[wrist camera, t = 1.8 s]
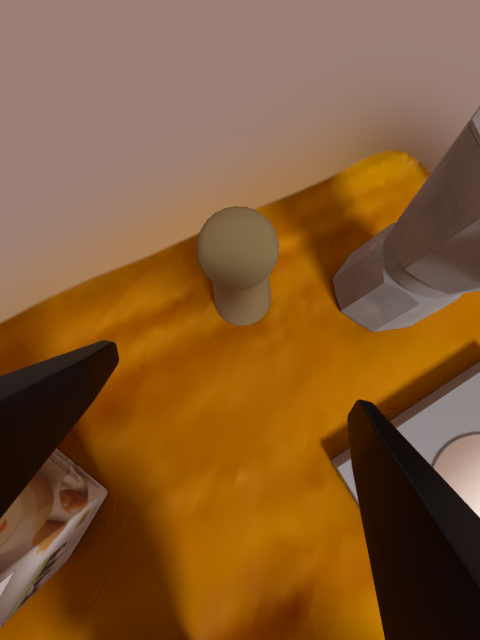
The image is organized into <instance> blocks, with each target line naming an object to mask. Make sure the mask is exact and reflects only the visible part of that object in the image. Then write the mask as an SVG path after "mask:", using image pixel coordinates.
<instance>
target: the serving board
mask: <svg viewBox="0 0 480 640" xmlns="http://www.w3.org/2000/svg"><path fill="white" fill-rule="evenodd" d="M390 422H391V423H392V424H393V425H394V426H395V427H396V429H397V430H398V431H399V432H400V433H401V434H402V435H403V436H404V437H405V438H406V439H407V440H408V441H409V442H410V443H411V445H412V446H413V447H414V448H415V449H416V450H417V451H418V452H419V453H420V454H421V455H422V456H423V457H424V458H425V460H426V461H427V462H428V463H429V464H430V465H431V466H432V467H433V468H434V469H435V470H436V471H437V472H438V473H439V474H440V476H441V477H442V478H443V479H444V480H445V481H446V482H447V483H448V484H449V485H450V486H451V487H452V488H453V489H454V491H455V492H456V493H457V494H458V495H459V496H460V497H461V498H462V499H463V500H464V501H465V502H466V503H467V504H468V505H469V507H470V508H471V509H472V510H473V511H474V512H475V513H476V514H477V515H478V516H479V517H480V361H479V362H478V363H476V364H475V365H473V366H472V367H470V368H469V369H467V370H466V371H464V372H463V373H461V374H460V375H458V376H457V377H455V378H454V379H452V380H451V381H449V382H448V383H446V384H445V385H443V386H442V387H440V388H439V389H437V390H436V391H434V392H433V393H431V394H430V395H428V396H427V397H425V398H423V399H422V400H420V401H419V402H417V403H416V404H414V405H413V406H411V407H410V408H408V409H407V410H405V411H404V412H402V413H401V414H399V415H398V416H396V417H395V418H393V419H392V420H390ZM331 462H332V463H333V465H334V467H335V468H336V470H337V472H338V473H339V475H340V477H341V478H342V480H343V481H344V483H345V485H346V486H347V488H348V490H349V491H350V493H351V495H352V496H353V498H354V499H355V501H356V503H357V504H358V506H359V502H358V497H357V492H356V487H355V482H354V476H353V471H352V464H351V455H350V448H348V449H347V450H345V451H344V452H342V453H341V454H339V455H338V456H336V457H335V458H333V459H332V460H331ZM359 508H360V507H359Z"/></svg>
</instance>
